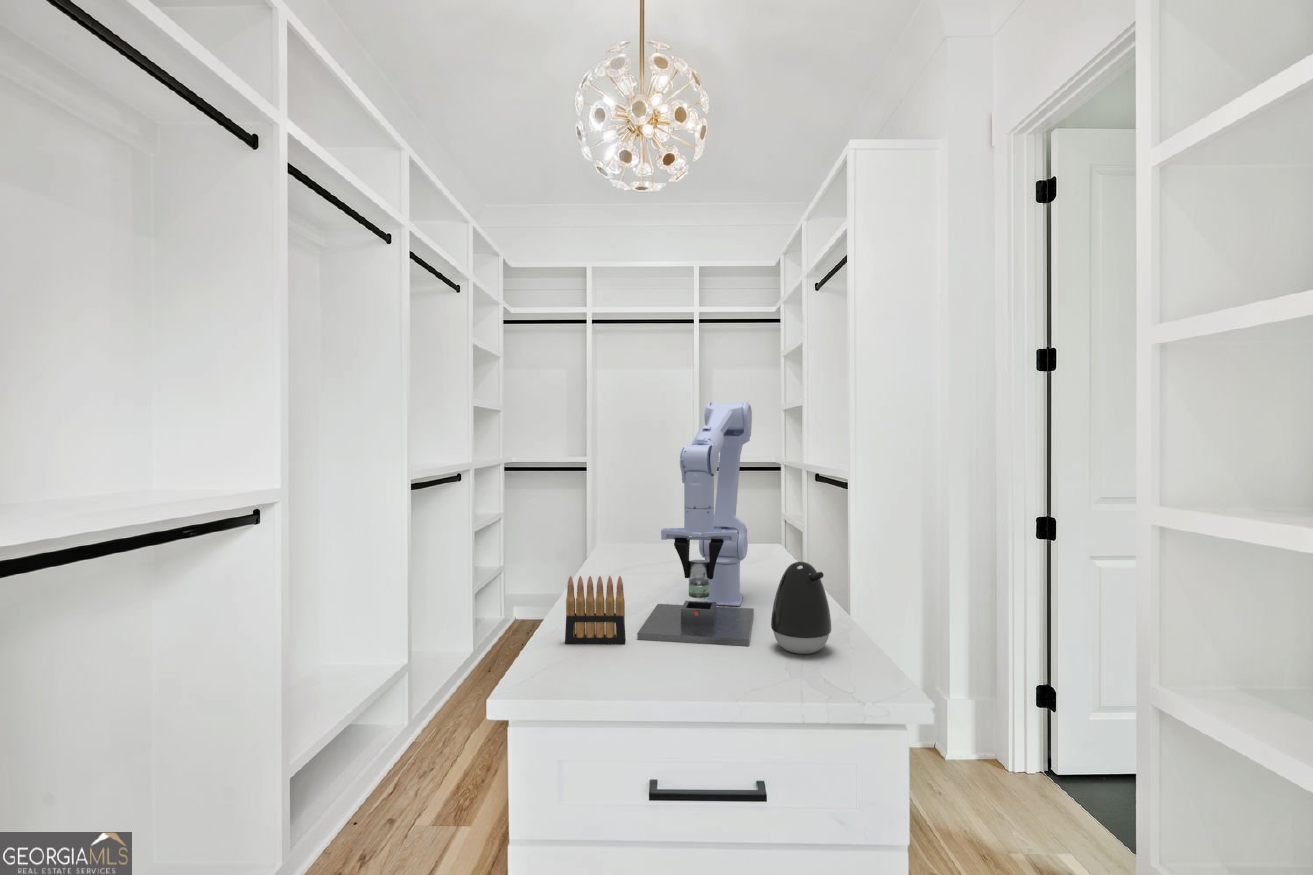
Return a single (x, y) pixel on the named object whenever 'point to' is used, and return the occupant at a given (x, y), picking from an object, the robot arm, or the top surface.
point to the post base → (698, 624)
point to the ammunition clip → (595, 614)
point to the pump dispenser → (801, 610)
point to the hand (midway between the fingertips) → (699, 577)
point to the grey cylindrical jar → (699, 579)
